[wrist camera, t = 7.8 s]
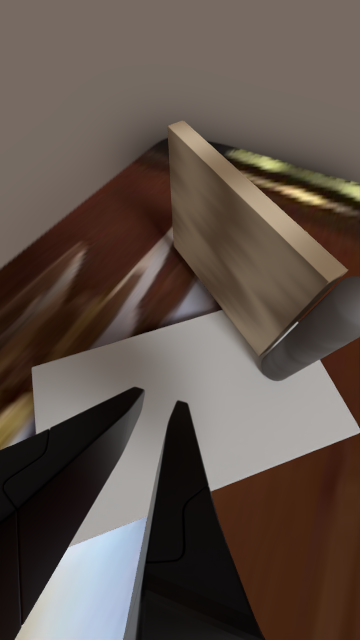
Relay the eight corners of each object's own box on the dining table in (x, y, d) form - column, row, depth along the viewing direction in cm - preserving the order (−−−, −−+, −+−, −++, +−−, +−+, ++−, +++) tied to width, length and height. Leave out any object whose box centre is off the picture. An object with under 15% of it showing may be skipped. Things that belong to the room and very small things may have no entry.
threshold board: (276, 298, 21) (280, 292, 20) (351, 432, 17) (361, 431, 16) (38, 370, 19) (31, 367, 18) (53, 548, 14) (44, 556, 14)
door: (311, 360, 18) (433, 288, 9) (273, 386, 17) (366, 335, 8) (201, 232, 23) (212, 109, 14) (169, 248, 22) (159, 128, 14)
